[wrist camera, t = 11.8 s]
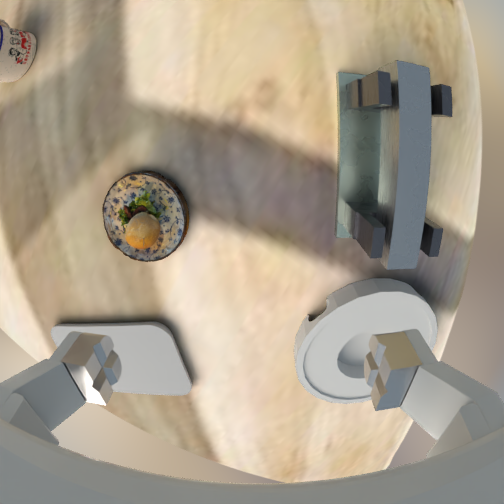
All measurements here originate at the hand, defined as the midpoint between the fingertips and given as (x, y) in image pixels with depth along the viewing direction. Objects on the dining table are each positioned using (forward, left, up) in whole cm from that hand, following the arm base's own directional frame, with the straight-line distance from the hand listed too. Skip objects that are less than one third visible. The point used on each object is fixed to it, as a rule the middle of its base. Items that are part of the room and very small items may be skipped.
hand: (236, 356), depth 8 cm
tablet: (+29, -25, -29) cm, 48 cm away
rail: (-3, +15, -23) cm, 27 cm away
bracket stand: (-3, +15, -28) cm, 32 cm away
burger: (+4, -14, -29) cm, 32 cm away
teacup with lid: (-26, -36, -28) cm, 53 cm away
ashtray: (+25, +17, -29) cm, 41 cm away
